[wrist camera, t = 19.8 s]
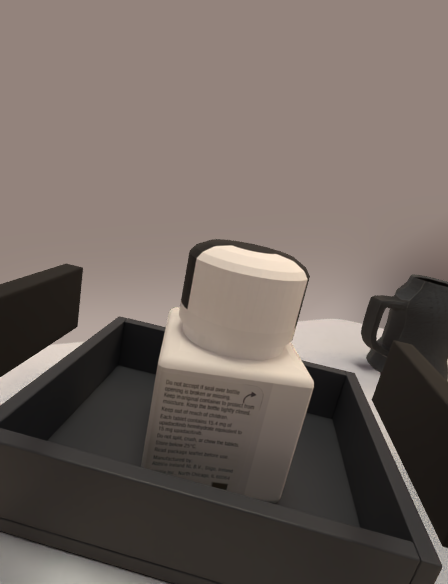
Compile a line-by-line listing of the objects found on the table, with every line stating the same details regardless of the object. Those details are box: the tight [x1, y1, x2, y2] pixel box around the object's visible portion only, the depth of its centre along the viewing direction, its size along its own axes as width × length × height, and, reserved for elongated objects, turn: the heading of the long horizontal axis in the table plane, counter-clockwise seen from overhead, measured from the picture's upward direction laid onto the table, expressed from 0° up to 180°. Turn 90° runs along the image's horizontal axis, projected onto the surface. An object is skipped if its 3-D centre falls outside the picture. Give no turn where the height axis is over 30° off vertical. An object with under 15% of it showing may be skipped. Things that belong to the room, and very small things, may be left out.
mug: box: [361, 275, 448, 381], centre depth 42 cm, size 12×9×11 cm
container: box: [141, 239, 314, 503], centre depth 21 cm, size 8×8×13 cm
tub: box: [0, 317, 442, 584], centre depth 22 cm, size 20×16×5 cm
